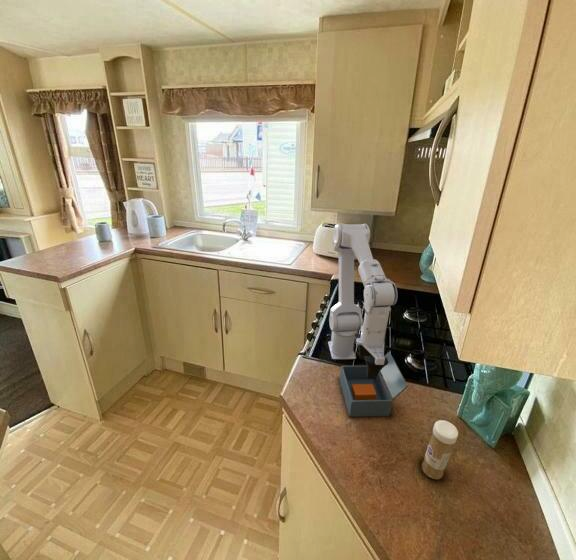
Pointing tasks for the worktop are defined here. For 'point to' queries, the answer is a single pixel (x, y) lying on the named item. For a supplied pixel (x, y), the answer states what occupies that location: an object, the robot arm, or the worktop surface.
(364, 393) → the packet
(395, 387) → the flap
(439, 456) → the sprinkles bottle
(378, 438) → the worktop surface
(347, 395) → the grey open box
